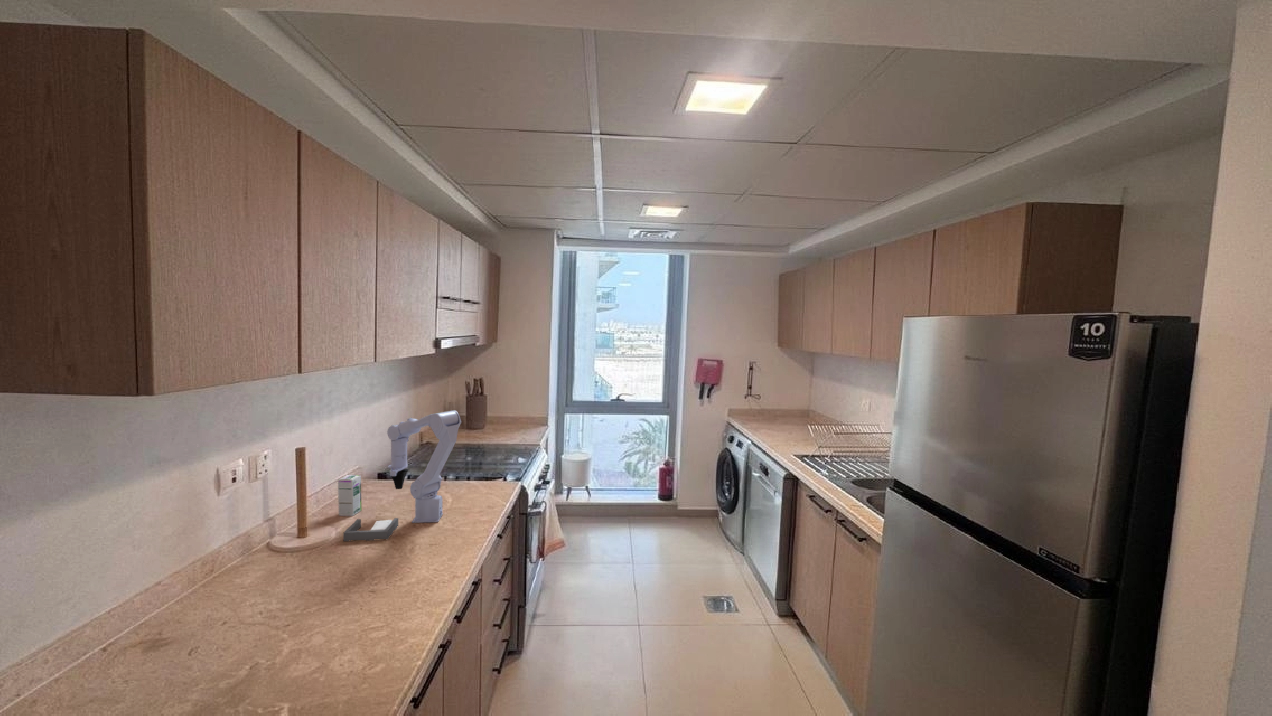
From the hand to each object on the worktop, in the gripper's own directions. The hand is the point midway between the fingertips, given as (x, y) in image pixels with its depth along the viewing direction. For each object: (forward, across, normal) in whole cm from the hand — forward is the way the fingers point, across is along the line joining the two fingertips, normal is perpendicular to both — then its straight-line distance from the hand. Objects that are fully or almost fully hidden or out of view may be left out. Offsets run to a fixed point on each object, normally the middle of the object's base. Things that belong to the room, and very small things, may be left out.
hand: (399, 488), depth 191 cm
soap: (+10, +19, 0) cm, 21 cm away
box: (+9, +19, -3) cm, 21 cm away
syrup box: (+10, 0, -18) cm, 20 cm away
